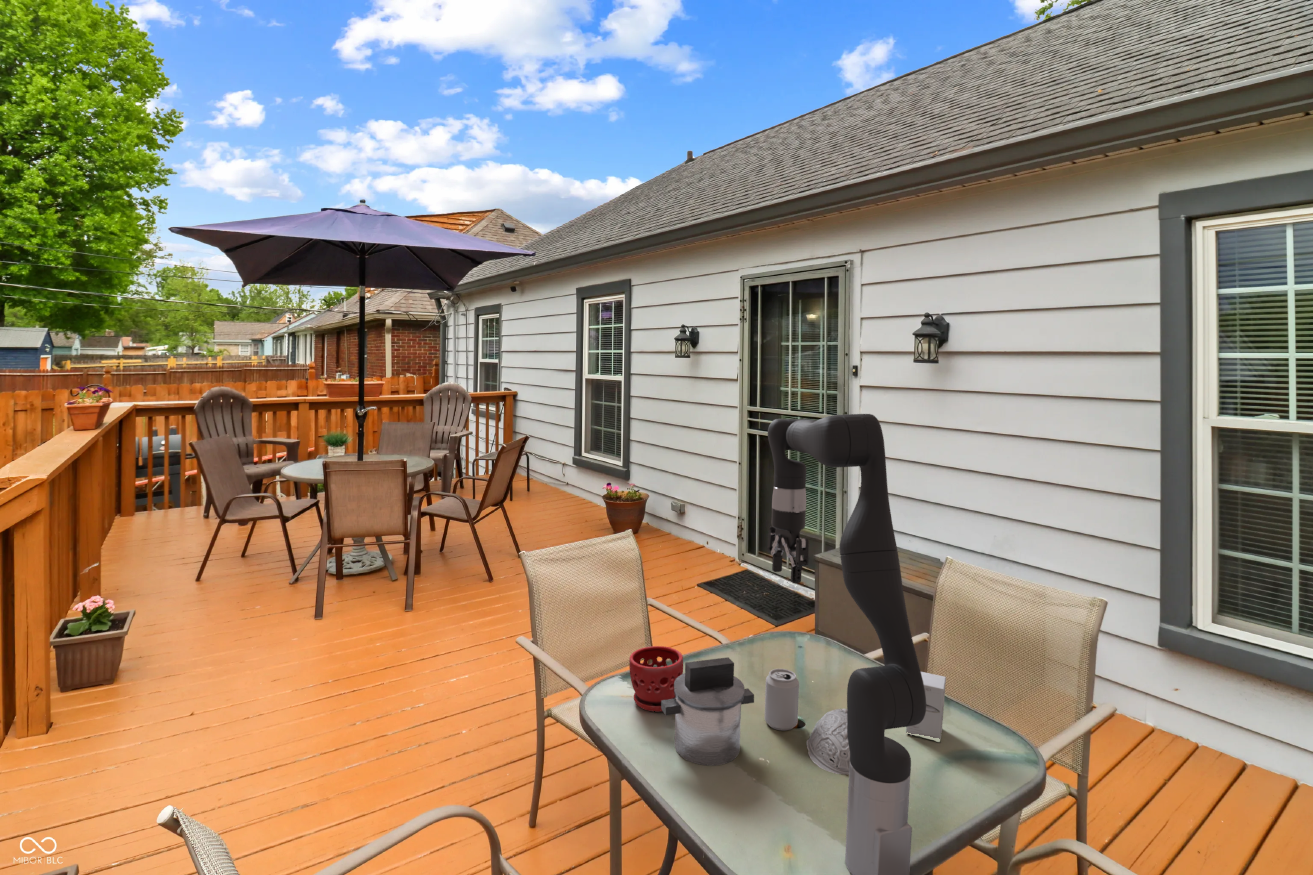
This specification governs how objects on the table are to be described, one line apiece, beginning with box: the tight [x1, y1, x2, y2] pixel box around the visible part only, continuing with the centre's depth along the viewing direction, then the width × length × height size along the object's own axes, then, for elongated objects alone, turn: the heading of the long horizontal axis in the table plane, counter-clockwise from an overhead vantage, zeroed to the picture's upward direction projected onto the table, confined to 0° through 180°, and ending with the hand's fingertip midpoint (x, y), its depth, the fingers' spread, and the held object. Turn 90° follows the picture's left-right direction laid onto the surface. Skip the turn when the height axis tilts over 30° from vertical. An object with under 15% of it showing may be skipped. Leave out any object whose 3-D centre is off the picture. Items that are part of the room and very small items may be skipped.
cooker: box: [661, 688, 755, 766], centre depth 137 cm, size 14×20×12 cm
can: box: [764, 668, 800, 731], centre depth 147 cm, size 8×8×12 cm
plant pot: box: [628, 645, 684, 713], centre depth 156 cm, size 13×13×12 cm
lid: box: [674, 657, 745, 710], centre depth 136 cm, size 15×15×7 cm
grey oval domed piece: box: [806, 708, 850, 776], centre depth 140 cm, size 16×25×7 cm, turn 161°
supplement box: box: [905, 671, 947, 740], centre depth 145 cm, size 7×7×13 cm
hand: (786, 576), depth 146 cm, fingers open, 8 cm apart
